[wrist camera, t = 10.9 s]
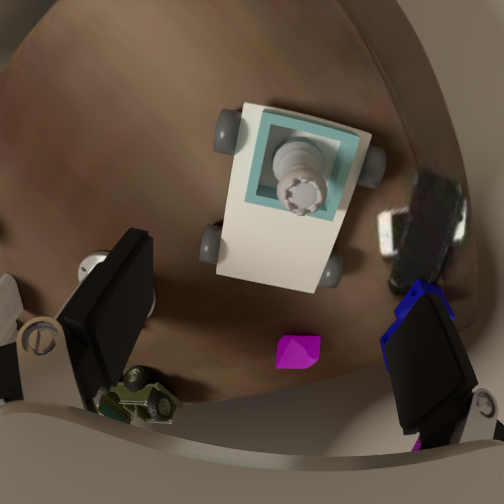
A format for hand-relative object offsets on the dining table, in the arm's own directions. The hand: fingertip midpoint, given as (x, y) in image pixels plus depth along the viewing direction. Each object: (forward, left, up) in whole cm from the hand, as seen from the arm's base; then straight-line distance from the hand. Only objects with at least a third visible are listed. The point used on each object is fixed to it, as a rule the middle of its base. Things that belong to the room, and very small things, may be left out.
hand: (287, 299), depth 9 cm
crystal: (-26, -9, -21) cm, 34 cm away
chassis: (-5, -1, -21) cm, 21 cm away
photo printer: (-34, +47, -21) cm, 62 cm away
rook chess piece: (0, -1, -18) cm, 18 cm away
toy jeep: (-53, +20, -21) cm, 60 cm away
